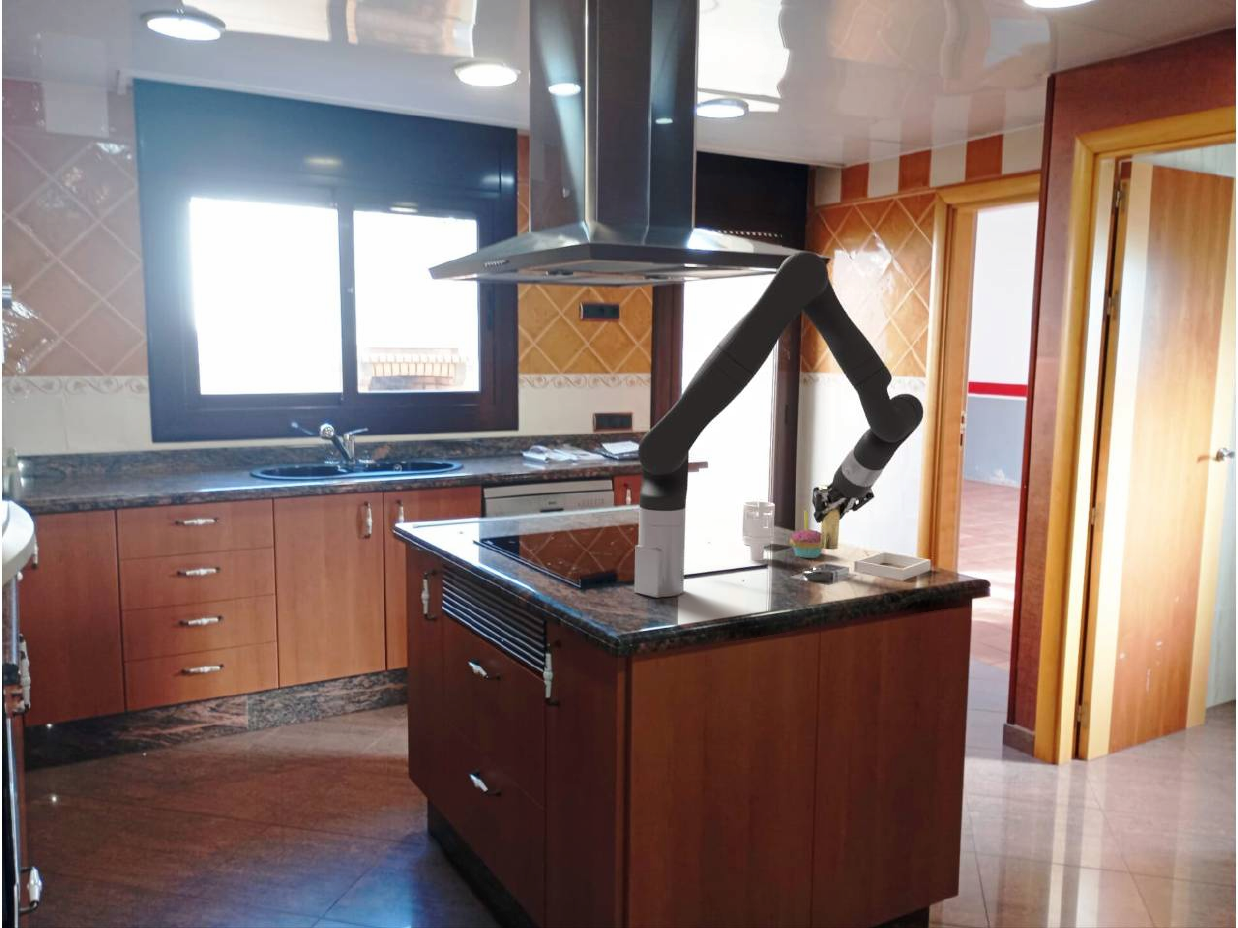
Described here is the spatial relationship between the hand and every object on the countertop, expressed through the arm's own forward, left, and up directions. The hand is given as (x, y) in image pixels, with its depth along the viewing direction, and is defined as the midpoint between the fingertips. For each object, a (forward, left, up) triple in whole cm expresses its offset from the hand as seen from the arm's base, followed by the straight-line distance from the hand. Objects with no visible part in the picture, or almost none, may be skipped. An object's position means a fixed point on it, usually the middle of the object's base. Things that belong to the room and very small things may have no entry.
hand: (825, 518), depth 209 cm
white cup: (+18, +29, -13) cm, 37 cm away
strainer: (0, +17, -13) cm, 22 cm away
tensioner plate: (-3, -2, -13) cm, 13 cm away
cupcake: (+12, +11, -13) cm, 21 cm away
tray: (+12, -10, -13) cm, 20 cm away
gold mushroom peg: (-1, -2, -6) cm, 6 cm away
